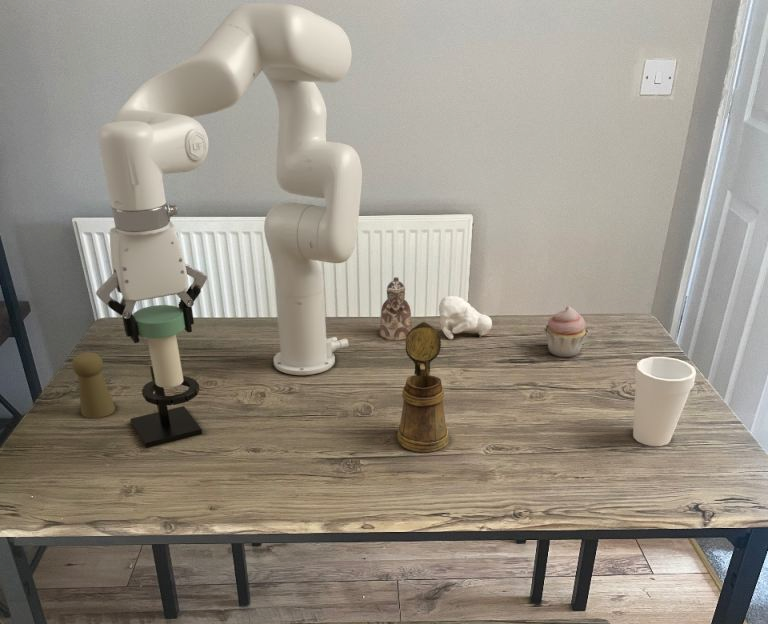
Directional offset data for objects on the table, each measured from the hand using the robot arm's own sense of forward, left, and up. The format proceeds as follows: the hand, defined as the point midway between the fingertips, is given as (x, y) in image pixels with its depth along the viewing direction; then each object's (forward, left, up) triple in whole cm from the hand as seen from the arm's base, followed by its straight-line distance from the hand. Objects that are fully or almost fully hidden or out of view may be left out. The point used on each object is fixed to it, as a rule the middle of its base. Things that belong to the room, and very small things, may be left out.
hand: (161, 333), depth 124 cm
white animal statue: (-70, -18, -21) cm, 75 cm away
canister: (0, 0, -8) cm, 8 cm away
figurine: (-57, -26, -21) cm, 66 cm away
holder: (0, -5, -21) cm, 22 cm away
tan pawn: (+9, -22, -21) cm, 32 cm away
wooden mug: (-39, +15, -21) cm, 47 cm away
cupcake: (-83, 0, -21) cm, 86 cm away
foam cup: (-73, +36, -21) cm, 84 cm away
